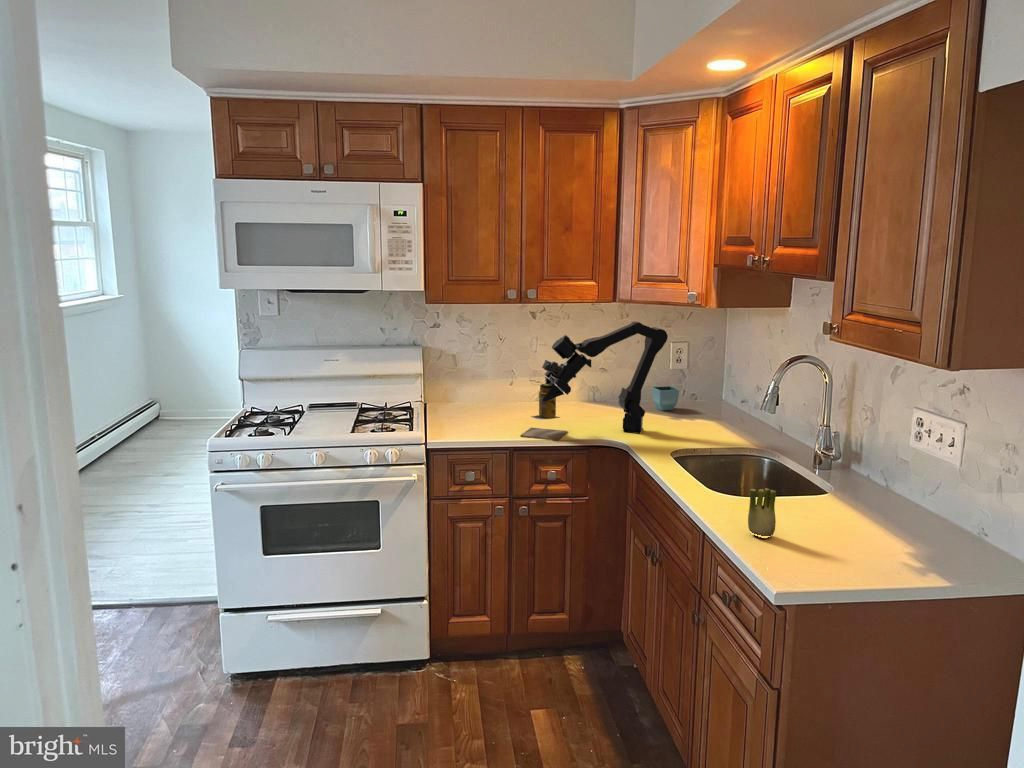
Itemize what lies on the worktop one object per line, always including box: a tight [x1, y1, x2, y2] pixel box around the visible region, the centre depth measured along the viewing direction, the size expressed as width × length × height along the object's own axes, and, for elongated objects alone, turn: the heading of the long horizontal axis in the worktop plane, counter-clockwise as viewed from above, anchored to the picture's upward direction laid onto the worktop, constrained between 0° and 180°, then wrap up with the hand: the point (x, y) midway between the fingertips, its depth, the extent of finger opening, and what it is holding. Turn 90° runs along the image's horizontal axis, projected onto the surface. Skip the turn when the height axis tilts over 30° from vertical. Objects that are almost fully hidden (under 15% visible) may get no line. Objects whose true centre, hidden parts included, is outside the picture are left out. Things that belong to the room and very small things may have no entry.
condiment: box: [529, 383, 561, 421], centre depth 278 cm, size 7×8×12 cm
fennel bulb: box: [747, 487, 777, 537], centre depth 185 cm, size 6×5×12 cm
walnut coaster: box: [519, 427, 568, 441], centre depth 281 cm, size 14×12×1 cm
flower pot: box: [651, 385, 680, 411], centre depth 322 cm, size 9×9×9 cm
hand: (541, 399), depth 278 cm, fingers closed on condiment, 6 cm apart
